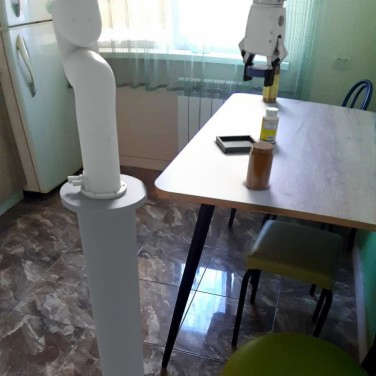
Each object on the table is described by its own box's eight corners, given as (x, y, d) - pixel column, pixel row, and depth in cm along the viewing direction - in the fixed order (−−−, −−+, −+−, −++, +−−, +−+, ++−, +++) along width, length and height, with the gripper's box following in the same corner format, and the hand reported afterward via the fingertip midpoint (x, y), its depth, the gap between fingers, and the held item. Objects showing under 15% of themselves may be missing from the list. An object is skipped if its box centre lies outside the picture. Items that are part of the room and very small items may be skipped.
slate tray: (224, 153, 132) (225, 147, 131) (215, 141, 140) (216, 136, 139) (260, 151, 135) (261, 146, 133) (249, 140, 142) (250, 134, 141)
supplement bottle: (264, 137, 145) (269, 105, 138) (278, 141, 143) (283, 108, 136) (256, 141, 142) (260, 108, 135) (270, 145, 140) (275, 112, 133)
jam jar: (249, 190, 112) (255, 150, 105) (242, 181, 116) (247, 141, 109) (271, 189, 113) (279, 149, 106) (263, 179, 118) (270, 140, 110)
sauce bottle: (276, 100, 185) (285, 46, 171) (275, 103, 180) (284, 49, 167) (262, 98, 186) (269, 45, 172) (260, 102, 181) (268, 47, 168)
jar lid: (258, 71, 113) (259, 63, 112) (277, 76, 109) (278, 68, 108) (240, 73, 110) (241, 65, 109) (259, 78, 106) (260, 70, 105)
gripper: (307, 1, 96) (291, 88, 108) (252, -5, 105) (243, 75, 117) (287, 2, 92) (273, 92, 104) (232, -5, 102) (225, 78, 114)
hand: (257, 82), depth 111 cm, fingers closed on jar lid, 6 cm apart
